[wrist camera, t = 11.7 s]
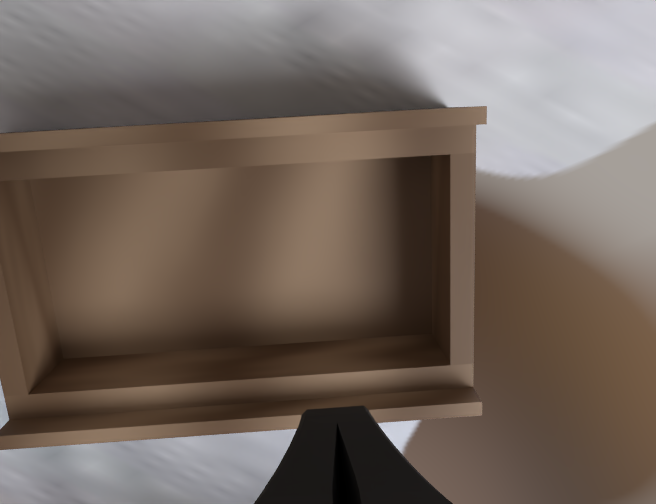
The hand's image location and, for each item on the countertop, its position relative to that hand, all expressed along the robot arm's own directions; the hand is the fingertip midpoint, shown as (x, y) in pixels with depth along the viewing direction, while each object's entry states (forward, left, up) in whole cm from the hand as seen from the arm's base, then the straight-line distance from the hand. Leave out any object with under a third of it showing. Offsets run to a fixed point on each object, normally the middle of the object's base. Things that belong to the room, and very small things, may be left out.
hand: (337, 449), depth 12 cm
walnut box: (+2, +3, -10) cm, 11 cm away
